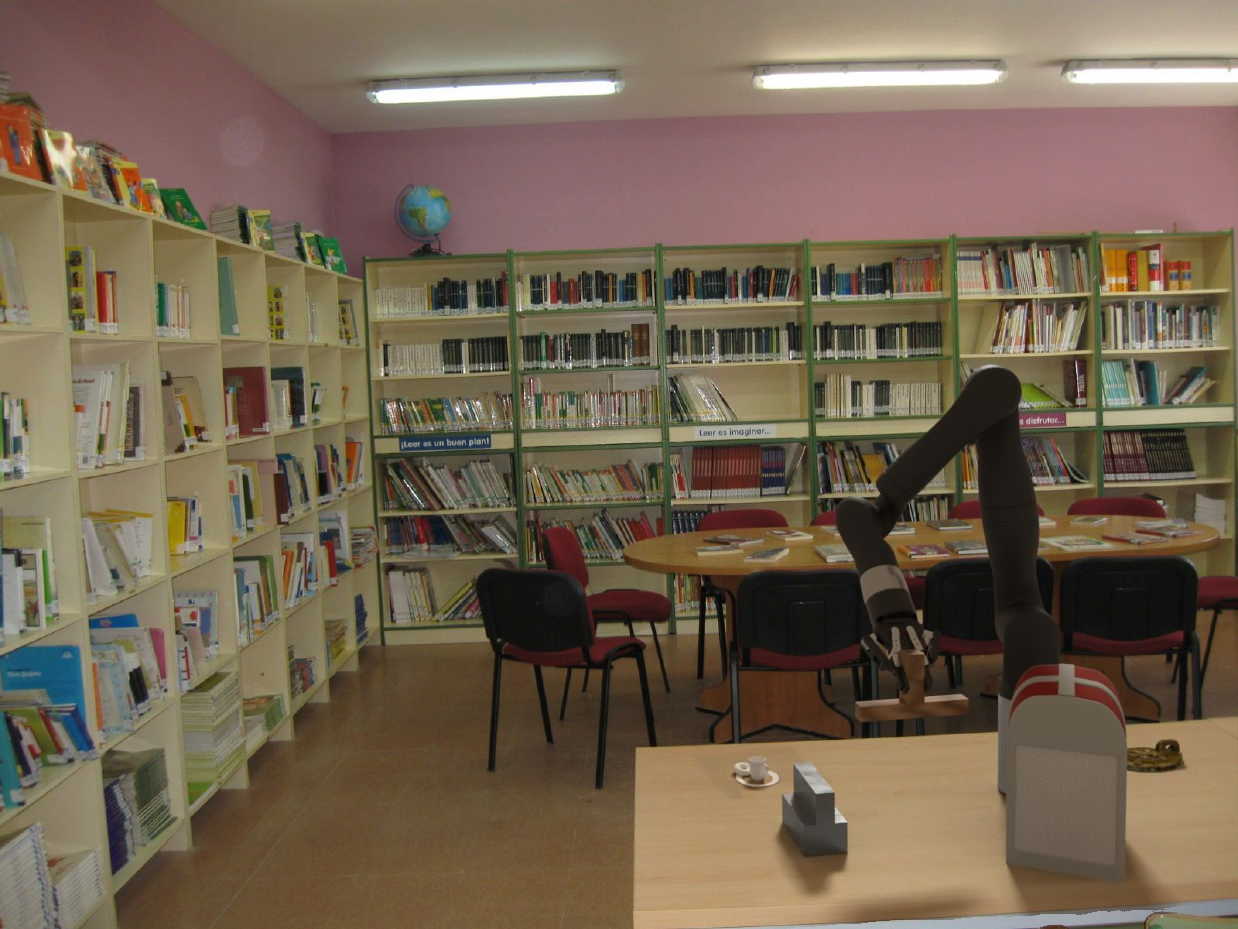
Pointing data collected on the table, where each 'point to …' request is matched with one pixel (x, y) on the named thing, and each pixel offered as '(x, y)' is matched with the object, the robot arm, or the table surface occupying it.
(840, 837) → the gray metal t-shaped block
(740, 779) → the teacup and saucer
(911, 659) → the wooden t-shaped block
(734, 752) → the table surface
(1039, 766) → the red-striped tombstone block
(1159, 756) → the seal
